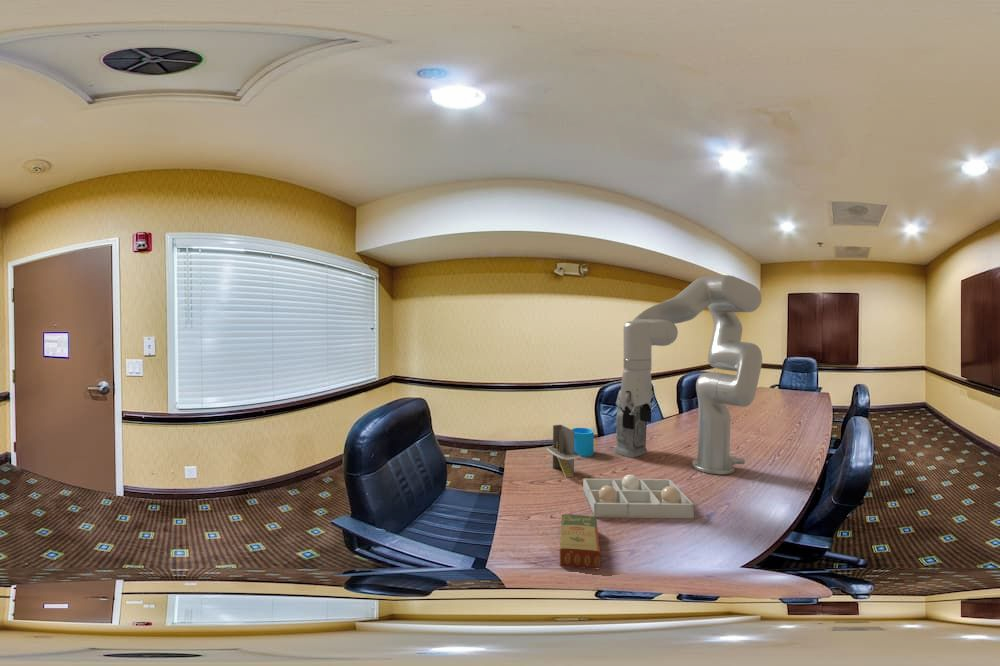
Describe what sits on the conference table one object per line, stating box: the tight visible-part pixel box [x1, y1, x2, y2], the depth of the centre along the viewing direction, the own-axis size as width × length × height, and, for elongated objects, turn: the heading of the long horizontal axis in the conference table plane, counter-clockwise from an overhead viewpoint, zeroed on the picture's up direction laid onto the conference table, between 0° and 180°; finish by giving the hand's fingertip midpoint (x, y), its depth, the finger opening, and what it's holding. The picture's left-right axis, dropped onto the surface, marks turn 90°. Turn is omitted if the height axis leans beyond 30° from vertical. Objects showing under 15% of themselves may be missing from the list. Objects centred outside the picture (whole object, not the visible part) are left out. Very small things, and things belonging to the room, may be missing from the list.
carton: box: [559, 513, 601, 569], centre depth 100 cm, size 8×16×4 cm, turn 171°
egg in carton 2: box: [661, 486, 680, 504], centre depth 118 cm, size 5×5×6 cm
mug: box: [571, 427, 595, 457], centre depth 164 cm, size 12×8×8 cm
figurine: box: [613, 389, 648, 459], centre depth 165 cm, size 10×14×25 cm
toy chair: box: [546, 424, 581, 479], centre depth 145 cm, size 20×25×15 cm
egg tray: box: [582, 478, 695, 519], centre depth 123 cm, size 25×17×4 cm
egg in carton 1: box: [599, 485, 617, 503], centre depth 119 cm, size 5×5×6 cm
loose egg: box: [622, 474, 639, 490], centre depth 127 cm, size 5×5×6 cm
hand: (637, 424), depth 129 cm, fingers open, 9 cm apart
